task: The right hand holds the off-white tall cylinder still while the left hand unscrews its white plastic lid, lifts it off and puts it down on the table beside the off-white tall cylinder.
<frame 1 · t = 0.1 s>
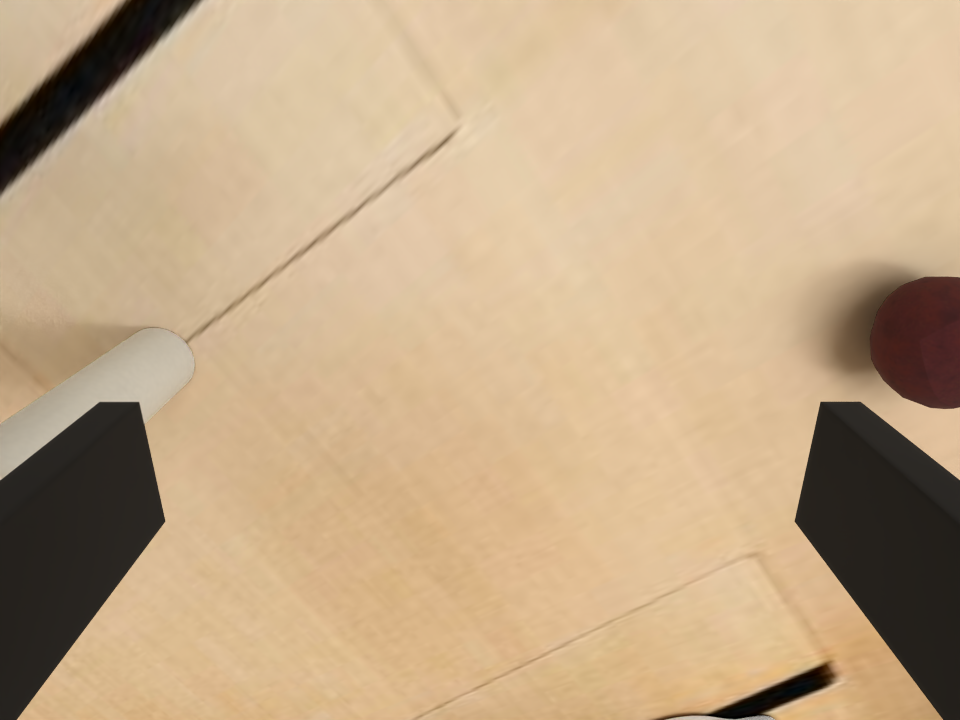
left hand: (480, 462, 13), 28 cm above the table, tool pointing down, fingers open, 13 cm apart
potato: (902, 320, 41), on the table
off-white tall cylinder: (160, 359, 42), on the table
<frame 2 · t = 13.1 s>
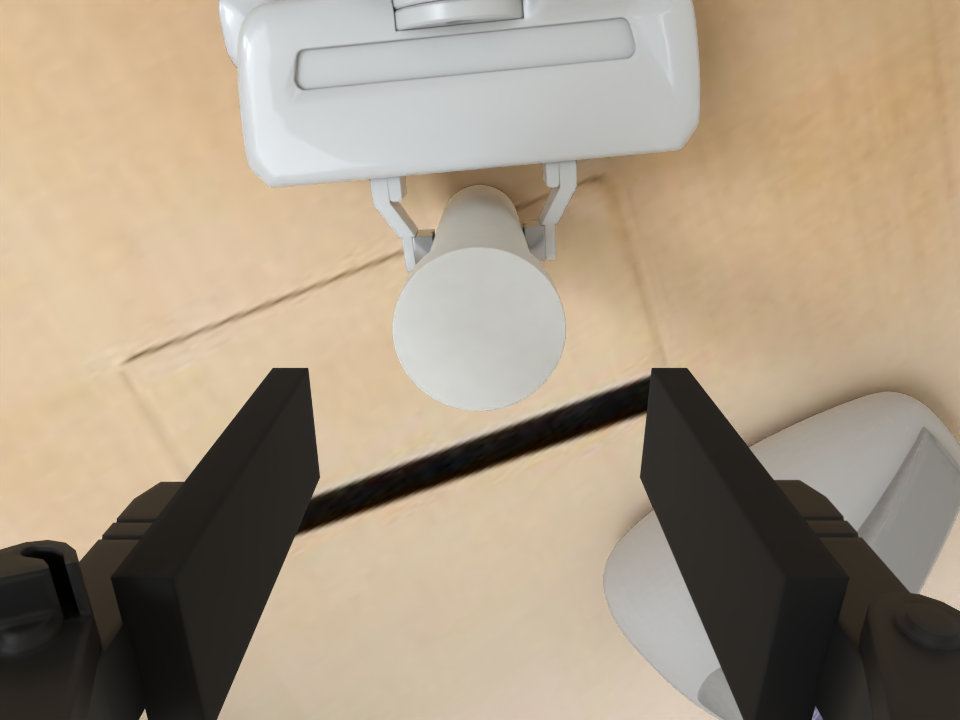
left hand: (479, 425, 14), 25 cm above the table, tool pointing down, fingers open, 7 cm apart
right hand: (482, 264, 32), fingers closed on off-white tall cylinder, 4 cm apart
lid: (479, 329, 20), point 19 cm above the table, screwed on, not yet turned
off-white tall cylinder: (479, 224, 37), on the table, touching right hand
projector: (769, 513, 45), on the table
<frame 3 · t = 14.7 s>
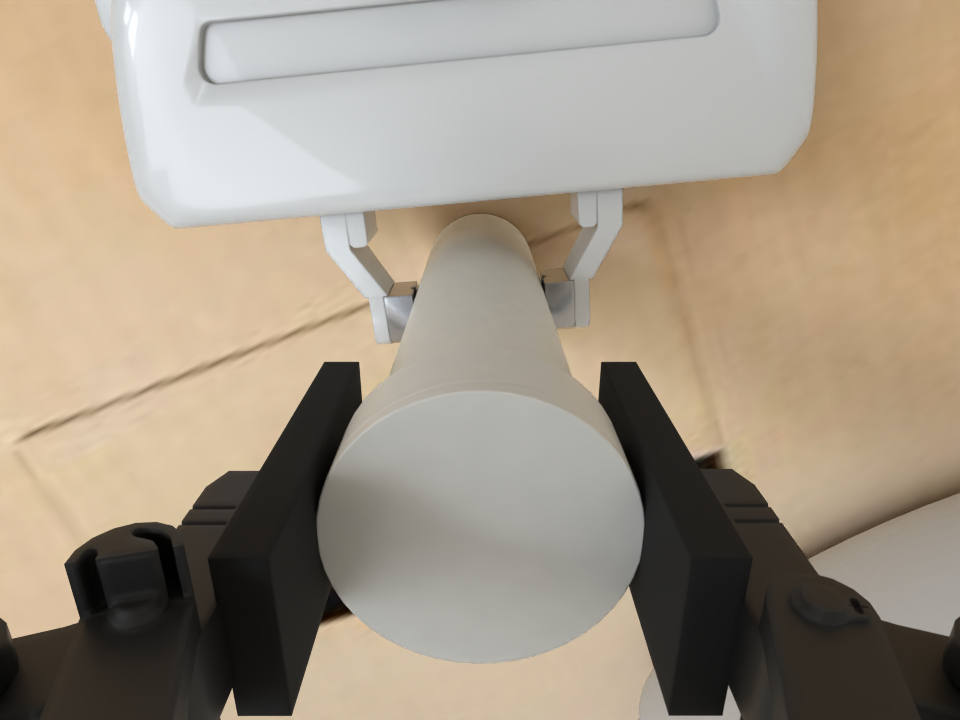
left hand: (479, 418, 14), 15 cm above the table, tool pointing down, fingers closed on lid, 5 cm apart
right hand: (484, 331, 23), fingers closed on off-white tall cylinder, 4 cm apart
lid: (480, 527, 11), point 19 cm above the table, screwed on, not yet turned, touching left hand
off-white tall cylinder: (480, 265, 28), on the table, touching right hand
projector: (846, 622, 35), on the table
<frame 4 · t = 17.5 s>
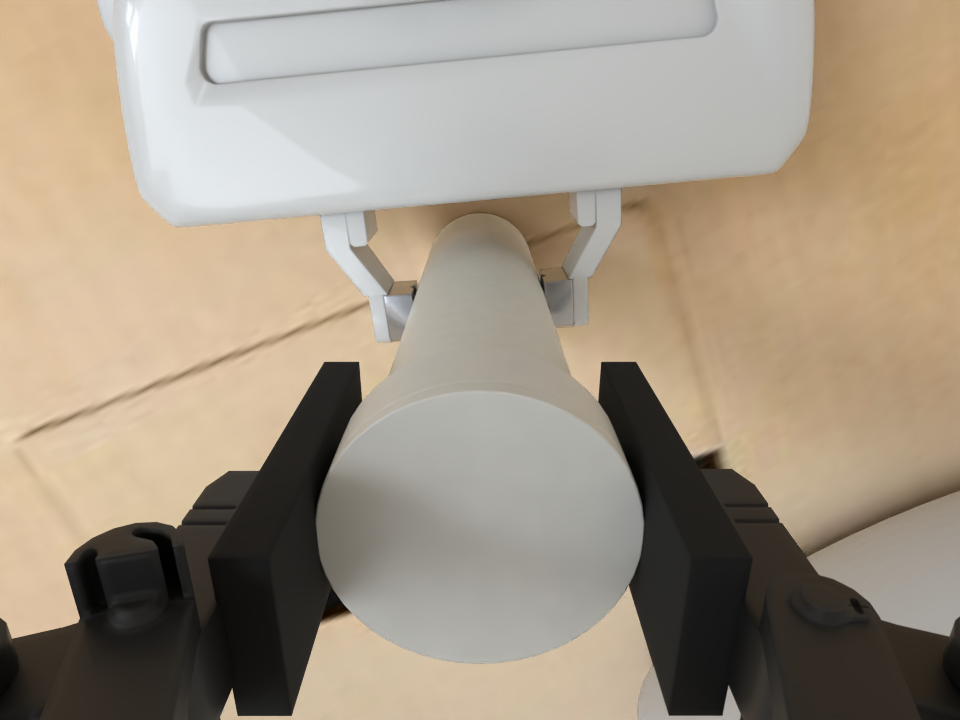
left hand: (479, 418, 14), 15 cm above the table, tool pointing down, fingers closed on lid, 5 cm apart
right hand: (483, 329, 23), fingers closed on off-white tall cylinder, 4 cm apart
lid: (479, 527, 11), point 19 cm above the table, turned 62° so far, risen 0.1 cm, still on its thread, touching left hand
off-white tall cylinder: (480, 264, 28), on the table, touching right hand
projector: (844, 620, 36), on the table
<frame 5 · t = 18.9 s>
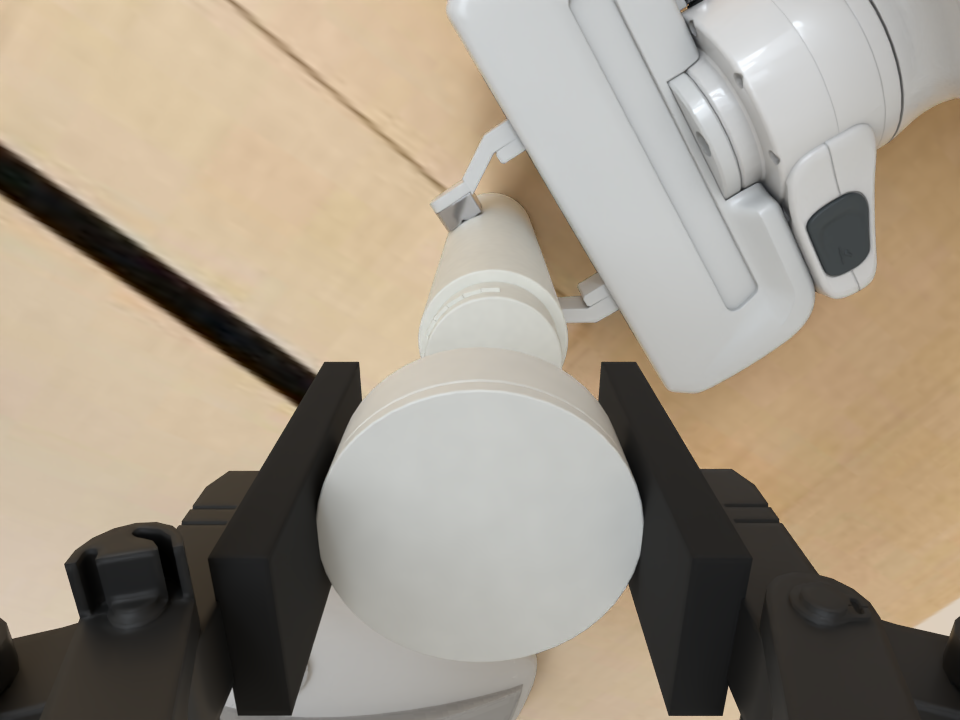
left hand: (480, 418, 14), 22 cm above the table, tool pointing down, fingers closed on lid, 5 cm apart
right hand: (475, 271, 29), fingers closed on off-white tall cylinder, 4 cm apart
lid: (479, 526, 11), point 26 cm above the table, off its thread, touching left hand
off-white tall cylinder: (491, 234, 35), on the table, touching right hand
projector: (368, 622, 45), on the table
when the left hand's fingers open (0 cm above the table, at t = 23.4 s): lid stays where it is, point 2 cm above the table.
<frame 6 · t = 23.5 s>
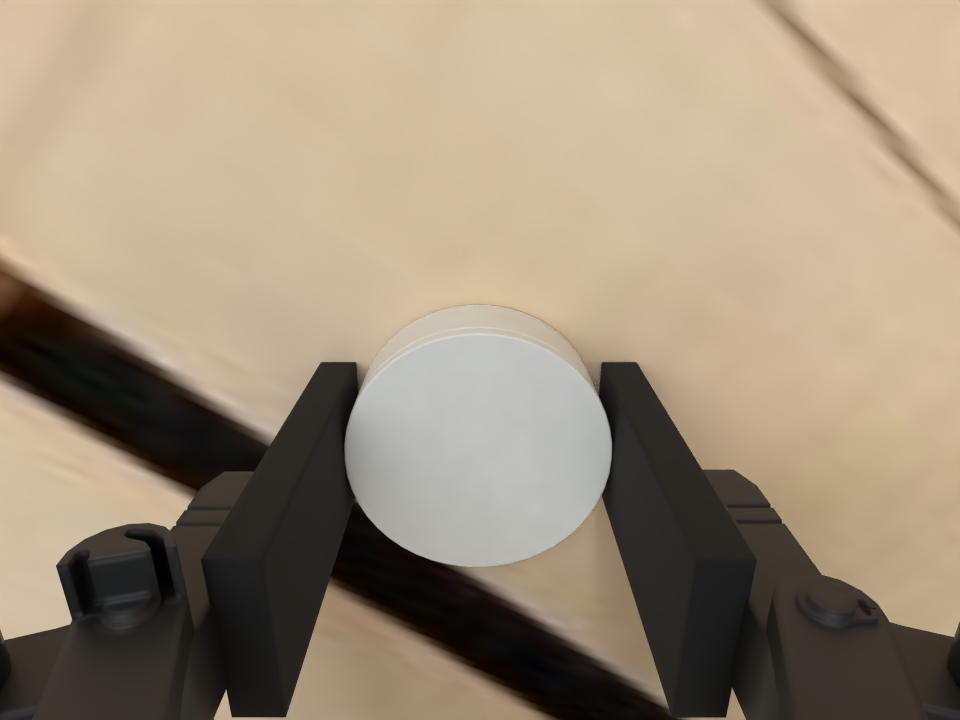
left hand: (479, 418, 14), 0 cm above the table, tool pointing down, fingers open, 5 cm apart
lid: (478, 450, 13), point 2 cm above the table, off its thread, touching left hand
when the right hand's fingers open (6 cm above the table, at t = 24.9 s): off-white tall cylinder stays where it is, on the table.
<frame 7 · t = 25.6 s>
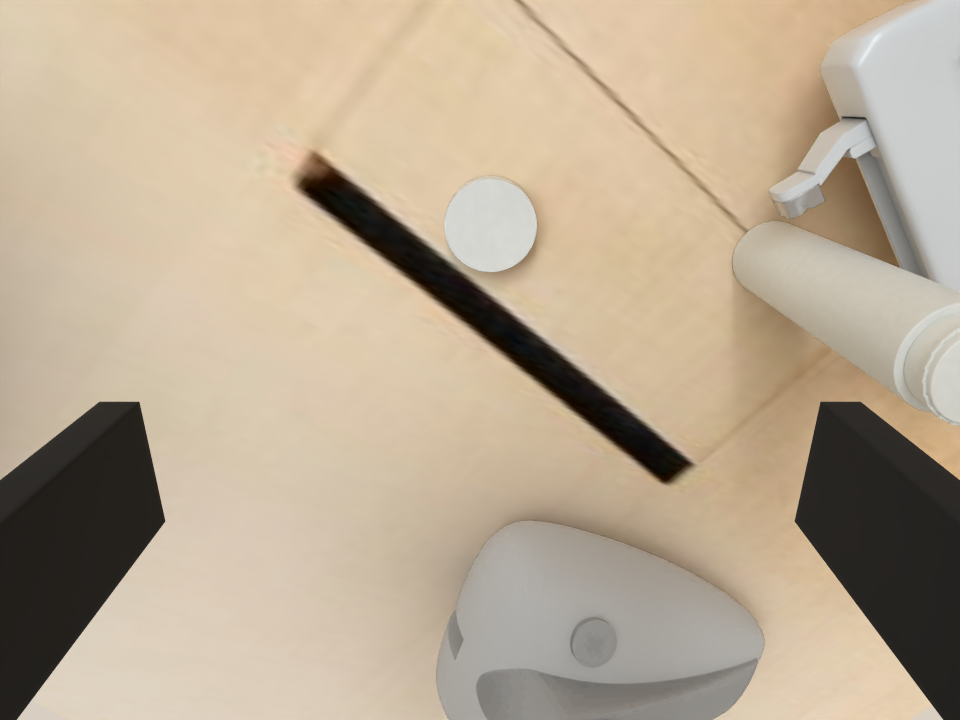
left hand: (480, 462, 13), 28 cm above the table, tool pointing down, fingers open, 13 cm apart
lid: (490, 225, 37), point 2 cm above the table, off its thread
off-white tall cylinder: (768, 257, 40), on the table
projector: (601, 604, 50), on the table
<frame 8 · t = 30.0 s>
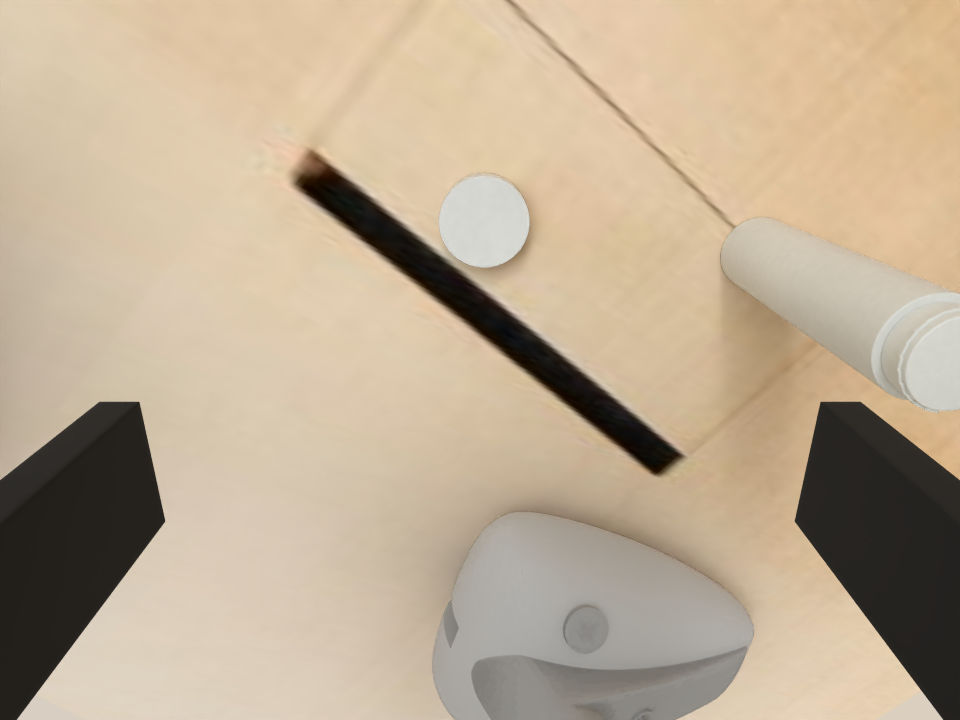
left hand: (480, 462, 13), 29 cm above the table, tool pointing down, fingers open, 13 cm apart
lid: (484, 222, 38), point 2 cm above the table, off its thread
off-white tall cylinder: (756, 252, 40), on the table
projector: (594, 594, 51), on the table
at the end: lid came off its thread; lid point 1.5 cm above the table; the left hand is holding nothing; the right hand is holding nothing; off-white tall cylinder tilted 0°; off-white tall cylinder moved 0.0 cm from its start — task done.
